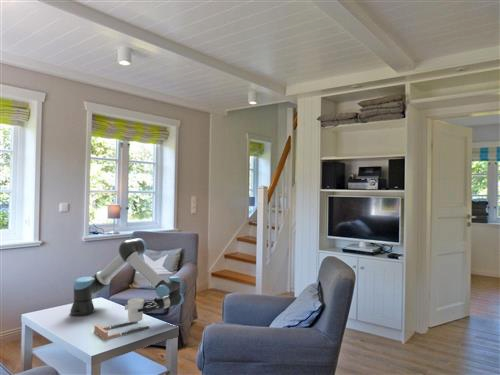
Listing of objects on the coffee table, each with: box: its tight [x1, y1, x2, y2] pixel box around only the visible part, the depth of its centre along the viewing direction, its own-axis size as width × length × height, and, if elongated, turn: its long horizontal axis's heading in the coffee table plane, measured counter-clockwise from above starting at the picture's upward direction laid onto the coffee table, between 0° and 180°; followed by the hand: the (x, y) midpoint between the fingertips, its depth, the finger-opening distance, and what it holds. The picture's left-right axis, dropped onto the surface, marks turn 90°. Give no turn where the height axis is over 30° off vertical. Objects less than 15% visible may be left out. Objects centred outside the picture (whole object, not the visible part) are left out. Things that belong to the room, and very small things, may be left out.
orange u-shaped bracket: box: [93, 324, 122, 341], centre depth 220 cm, size 16×9×4 cm, turn 43°
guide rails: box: [110, 320, 150, 336], centre depth 229 cm, size 16×17×2 cm
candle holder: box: [127, 297, 145, 322], centre depth 232 cm, size 10×10×12 cm
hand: (128, 309), depth 229 cm, fingers closed on candle holder, 9 cm apart
